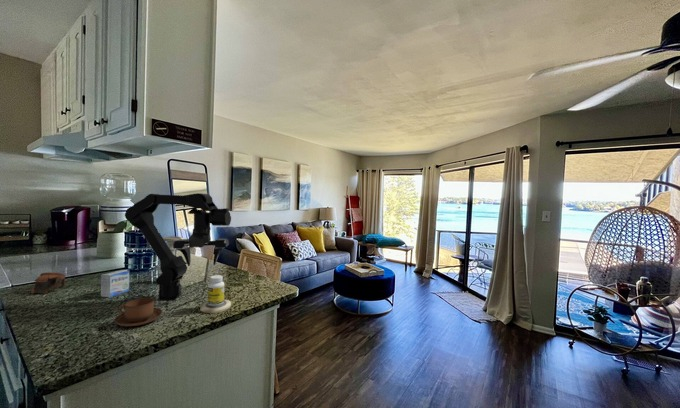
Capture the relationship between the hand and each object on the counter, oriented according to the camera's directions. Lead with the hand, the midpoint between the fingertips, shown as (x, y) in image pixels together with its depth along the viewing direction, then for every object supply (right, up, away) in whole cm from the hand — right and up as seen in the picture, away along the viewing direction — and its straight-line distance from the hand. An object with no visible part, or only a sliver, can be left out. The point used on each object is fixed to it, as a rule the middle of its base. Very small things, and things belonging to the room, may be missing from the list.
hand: (201, 265), depth 106 cm
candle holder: (-25, -12, +20) cm, 34 cm away
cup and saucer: (-10, -13, -20) cm, 26 cm away
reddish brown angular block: (-63, -11, +3) cm, 64 cm away
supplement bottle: (+9, -12, -8) cm, 17 cm away
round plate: (+9, -14, -8) cm, 18 cm away
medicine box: (-35, -12, +2) cm, 37 cm away
